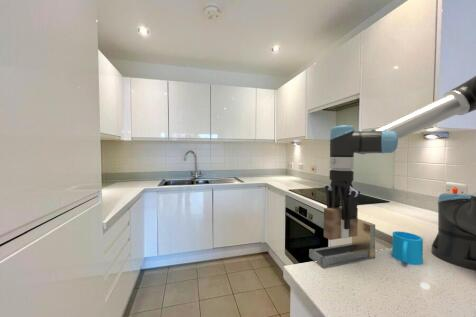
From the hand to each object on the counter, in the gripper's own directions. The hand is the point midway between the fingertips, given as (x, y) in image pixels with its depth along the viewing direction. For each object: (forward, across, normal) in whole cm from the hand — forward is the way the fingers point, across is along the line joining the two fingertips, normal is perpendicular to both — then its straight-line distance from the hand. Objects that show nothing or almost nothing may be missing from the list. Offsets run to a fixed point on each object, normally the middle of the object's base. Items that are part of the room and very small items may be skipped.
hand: (340, 235), depth 70 cm
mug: (+8, +8, +21) cm, 24 cm away
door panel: (0, 0, 0) cm, 0 cm away
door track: (+8, 0, +1) cm, 8 cm away
